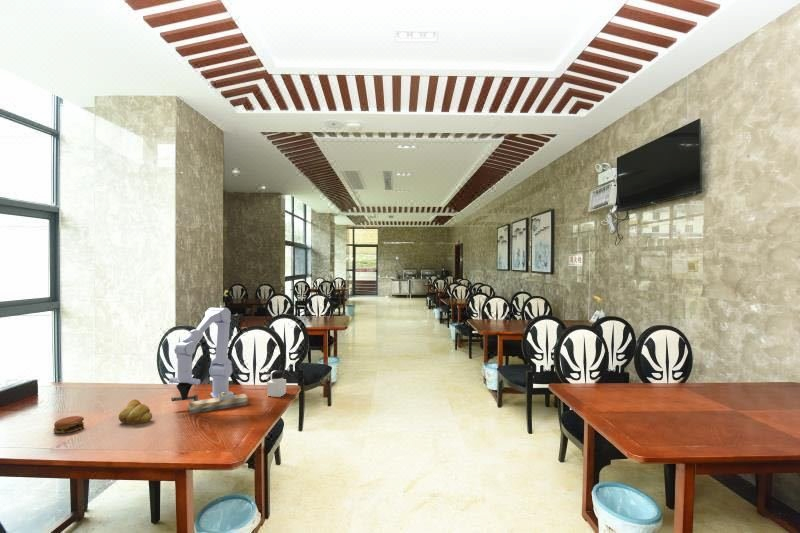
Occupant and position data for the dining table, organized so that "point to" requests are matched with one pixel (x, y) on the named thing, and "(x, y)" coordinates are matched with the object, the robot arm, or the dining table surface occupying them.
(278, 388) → the grey padlock
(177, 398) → the lever
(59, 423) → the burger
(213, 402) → the plane body
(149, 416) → the bread roll
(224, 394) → the lever cap
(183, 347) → the robot arm
